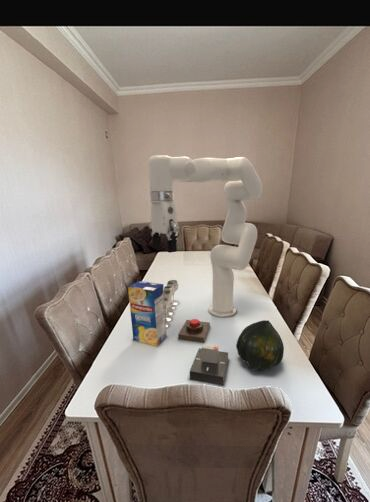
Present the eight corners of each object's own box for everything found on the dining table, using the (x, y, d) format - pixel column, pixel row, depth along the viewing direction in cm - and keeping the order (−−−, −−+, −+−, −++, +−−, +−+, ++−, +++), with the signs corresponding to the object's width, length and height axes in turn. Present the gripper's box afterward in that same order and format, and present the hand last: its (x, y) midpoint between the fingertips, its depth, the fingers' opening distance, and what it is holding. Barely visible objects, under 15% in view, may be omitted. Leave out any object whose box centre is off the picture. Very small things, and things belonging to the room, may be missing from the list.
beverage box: (157, 346, 92) (153, 290, 86) (133, 339, 97) (127, 286, 90) (166, 336, 98) (163, 284, 91) (143, 331, 102) (138, 280, 96)
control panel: (198, 355, 86) (198, 347, 85) (228, 360, 83) (228, 352, 82) (189, 379, 75) (189, 370, 74) (223, 385, 72) (223, 376, 71)
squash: (228, 358, 75) (265, 326, 71) (228, 334, 90) (259, 306, 85) (262, 388, 76) (301, 359, 71) (257, 359, 90) (289, 333, 86)
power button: (191, 322, 101) (191, 318, 101) (200, 323, 100) (200, 319, 100) (189, 326, 98) (188, 322, 97) (198, 327, 97) (197, 323, 96)
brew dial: (201, 361, 78) (201, 347, 77) (202, 358, 80) (202, 344, 78) (217, 364, 77) (217, 349, 75) (218, 360, 78) (218, 346, 77)
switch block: (186, 324, 107) (186, 315, 106) (209, 327, 104) (209, 318, 103) (178, 339, 96) (178, 330, 95) (203, 342, 93) (203, 333, 92)
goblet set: (168, 328, 104) (167, 299, 100) (155, 328, 105) (153, 299, 101) (180, 301, 130) (179, 277, 126) (169, 301, 131) (167, 277, 127)
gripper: (187, 197, 76) (188, 252, 81) (158, 197, 90) (160, 244, 95) (166, 197, 72) (169, 255, 77) (139, 198, 85) (142, 247, 90)
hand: (164, 249), depth 86 cm, fingers open, 9 cm apart
